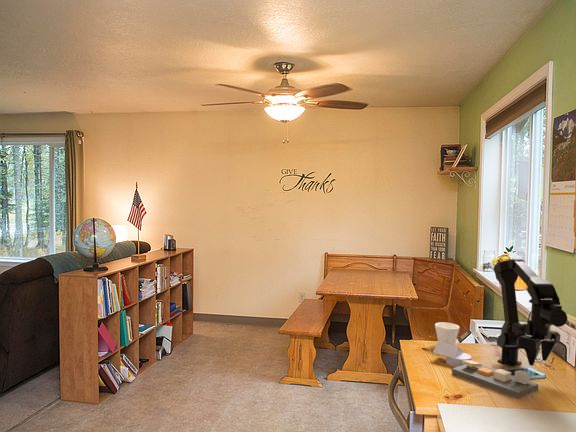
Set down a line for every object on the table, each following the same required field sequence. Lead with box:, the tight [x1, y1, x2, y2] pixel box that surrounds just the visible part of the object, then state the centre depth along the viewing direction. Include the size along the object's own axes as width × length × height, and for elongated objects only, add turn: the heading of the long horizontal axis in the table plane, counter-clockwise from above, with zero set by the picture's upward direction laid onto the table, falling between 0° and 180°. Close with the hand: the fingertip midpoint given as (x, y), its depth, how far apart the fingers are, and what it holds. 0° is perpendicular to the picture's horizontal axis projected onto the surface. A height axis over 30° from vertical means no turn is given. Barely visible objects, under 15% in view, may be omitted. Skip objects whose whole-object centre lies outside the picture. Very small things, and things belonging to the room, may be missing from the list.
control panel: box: [451, 364, 539, 400], centre depth 159 cm, size 13×24×3 cm, turn 36°
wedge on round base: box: [432, 341, 472, 368], centre depth 177 cm, size 9×7×13 cm
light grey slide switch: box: [514, 369, 531, 384], centre depth 154 cm, size 3×4×3 cm
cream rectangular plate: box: [462, 359, 482, 367], centre depth 166 cm, size 6×4×1 cm, turn 126°
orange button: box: [477, 367, 494, 377], centre depth 162 cm, size 4×4×2 cm
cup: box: [434, 321, 460, 346], centre depth 196 cm, size 10×10×9 cm
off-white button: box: [493, 368, 512, 382], centre depth 157 cm, size 4×4×2 cm
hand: (537, 362), depth 160 cm, fingers open, 9 cm apart
